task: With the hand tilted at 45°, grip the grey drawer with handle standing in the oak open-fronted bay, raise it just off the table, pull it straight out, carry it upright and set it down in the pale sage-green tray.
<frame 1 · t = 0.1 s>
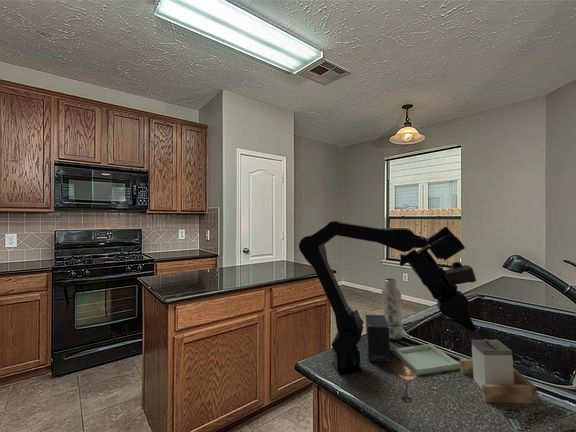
hand: (469, 323, 73), 15 cm above the worktop, tool tilted 35°, fingers open, 9 cm apart
small box: (378, 354, 91), on the worktop
grey drawer with handle: (491, 364, 71), in the bay
bay: (493, 386, 71), on the worktop
tray: (424, 360, 85), on the worktop
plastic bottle: (393, 338, 101), on the worktop
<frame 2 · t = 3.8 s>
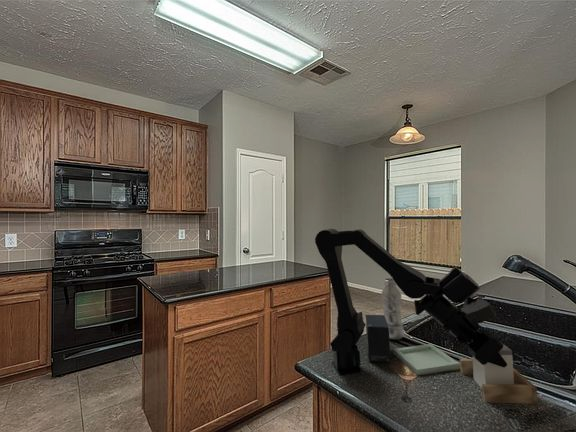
hand: (497, 359, 71), 7 cm above the worktop, tool tilted 45°, fingers closed on grey drawer with handle, 6 cm apart
grey drawer with handle: (491, 364, 71), in the bay, touching gripper
everything else where it was.
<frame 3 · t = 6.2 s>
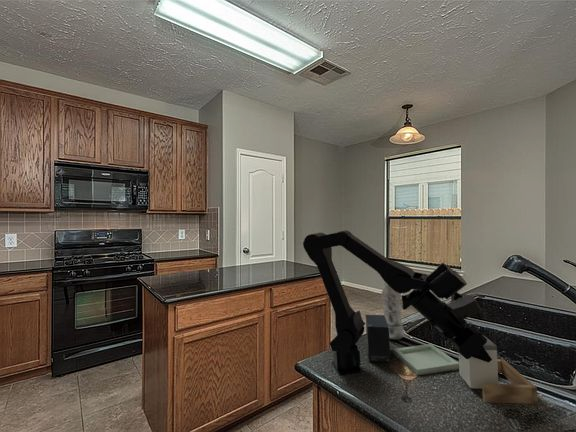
hand: (483, 354, 71), 8 cm above the worktop, tool tilted 45°, fingers closed on grey drawer with handle, 6 cm apart
grey drawer with handle: (477, 359, 72), point 6 cm above the worktop, touching gripper
everything else where it was.
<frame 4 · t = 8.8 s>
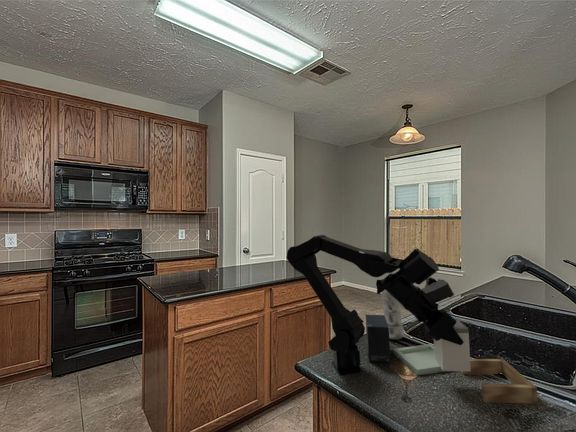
hand: (456, 337, 72), 12 cm above the worktop, tool tilted 45°, fingers closed on grey drawer with handle, 6 cm apart
grey drawer with handle: (450, 343, 72), point 10 cm above the worktop, touching gripper
everything else where it was.
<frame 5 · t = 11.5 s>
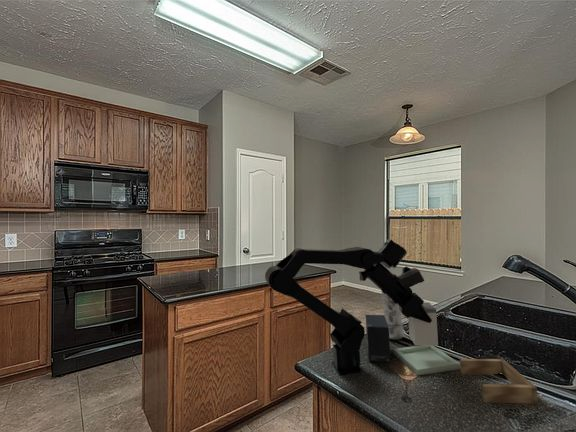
hand: (427, 317, 85), 12 cm above the worktop, tool tilted 45°, fingers closed on grey drawer with handle, 6 cm apart
grey drawer with handle: (422, 322, 85), point 11 cm above the worktop, touching gripper
everything else where it was.
when the fingers open (8 cm above the worktop, at t = 14.1 s): grey drawer with handle stays where it is, resting on tray.
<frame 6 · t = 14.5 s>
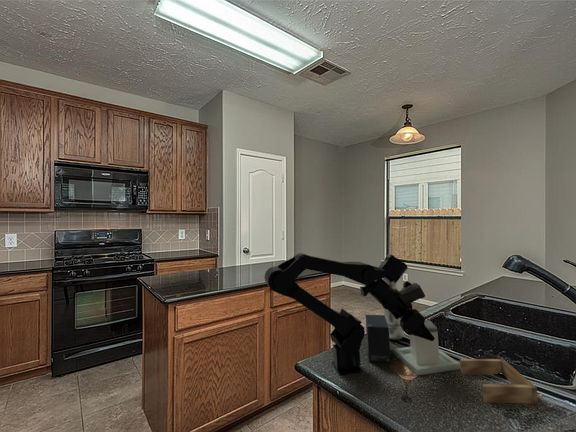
hand: (428, 332, 85), 8 cm above the worktop, tool tilted 45°, fingers open, 9 cm apart
grey drawer with handle: (423, 340, 85), in the tray
everything else where it was.
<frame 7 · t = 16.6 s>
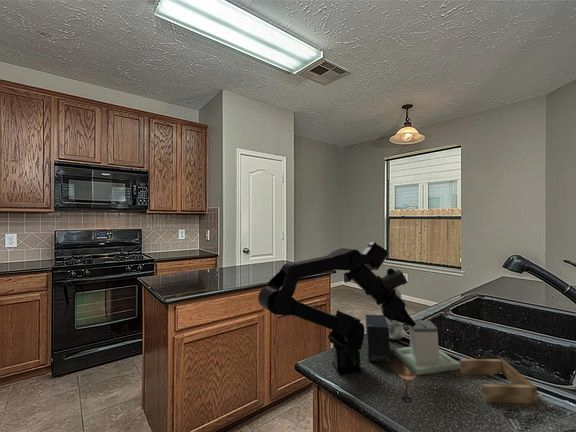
hand: (410, 319, 85), 12 cm above the worktop, tool tilted 45°, fingers open, 9 cm apart
nothing on the worktop moved.
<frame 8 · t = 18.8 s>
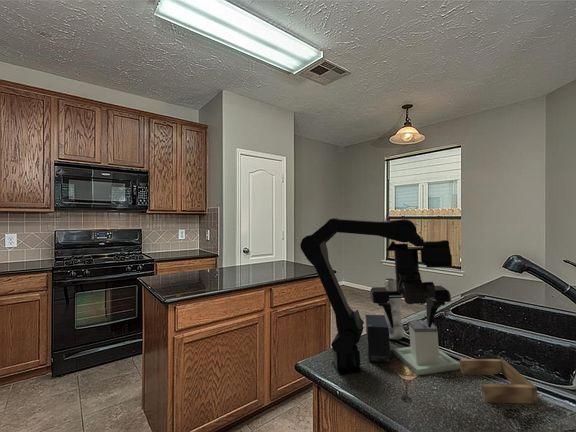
hand: (410, 327, 77), 13 cm above the worktop, tool pointing down, fingers open, 9 cm apart
nothing on the worktop moved.
at the end: grey drawer with handle inside the target area on the tray (0.0 cm from its centre), point 5.8 cm above the tray's base; grey drawer with handle tilted 0°; the gripper is holding nothing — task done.
